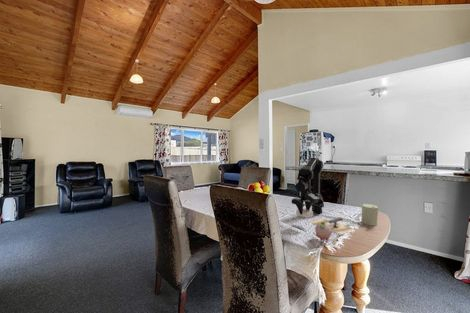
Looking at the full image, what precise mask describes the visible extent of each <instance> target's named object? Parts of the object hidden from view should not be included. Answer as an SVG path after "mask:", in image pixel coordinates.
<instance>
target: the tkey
mask: <svg viewBox="0 0 470 313" xmlns="http://www.w3.org/2000/svg"><path fill="white" fill-rule="evenodd" d="M328 220H329V219H328ZM340 221H341V222H342V221H344V217H341V216H338V217H336V218H333V219H330V220H329V223H334V227H336V226H337V223H338V222H340Z"/></svg>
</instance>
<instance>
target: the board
mask: <svg viewBox="0 0 470 313" xmlns="http://www.w3.org/2000/svg"><path fill="white" fill-rule="evenodd" d="M321 222H324V223H325V224H327V225H329V226H330V228H331V231H332V232H334V233H337V234H340V235H344V234H347V233H349V232H350V231H351V232H352V231H353V230H355V228H353V227H350V226H347V225H345V224H341V223H338V222H337V226H336V227H334V223H329V219H325V218H323V217H321V218H317V219H314V220H312V221H309V222H308V223H309V224H313V225H315V226H316V225H317V224H319V223H321Z"/></svg>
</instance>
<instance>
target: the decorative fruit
mask: <svg viewBox="0 0 470 313" xmlns="http://www.w3.org/2000/svg"><path fill="white" fill-rule="evenodd" d="M314 228H315V230H314V231H315V234H316V236H317V238H319V239H320V240H322V241H324V240H327V239H329V238H330V237H331V236H332V232H333V231H331V228H330V226H329V225H327V224H325V223H324V222H321V223H319V224H317V225H315V227H314Z"/></svg>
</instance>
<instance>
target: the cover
mask: <svg viewBox="0 0 470 313" xmlns="http://www.w3.org/2000/svg"><path fill="white" fill-rule="evenodd" d="M295 215H297V216H300V217H304V218H306V219H309V218H311V217H314V213H313V211H312V210H311V209H310V210H306V208H303V212H302V215H301V214H300V212H299V210H298V209H296V210H295Z"/></svg>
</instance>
